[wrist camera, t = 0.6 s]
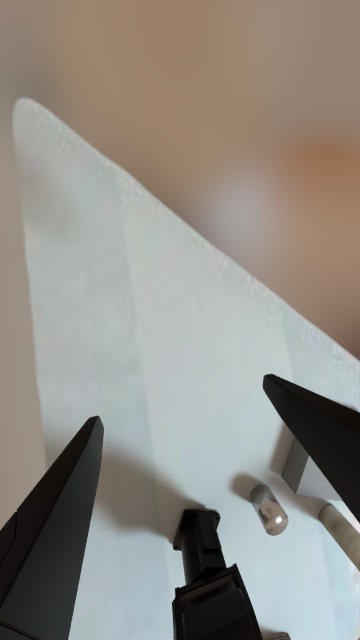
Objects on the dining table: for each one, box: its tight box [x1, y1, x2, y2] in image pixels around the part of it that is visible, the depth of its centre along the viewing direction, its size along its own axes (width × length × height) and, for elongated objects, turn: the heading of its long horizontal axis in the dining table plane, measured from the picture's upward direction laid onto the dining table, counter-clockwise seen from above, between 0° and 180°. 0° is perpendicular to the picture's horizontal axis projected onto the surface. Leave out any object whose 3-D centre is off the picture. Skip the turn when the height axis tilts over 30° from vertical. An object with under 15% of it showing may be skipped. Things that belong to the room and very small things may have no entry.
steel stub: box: [250, 485, 288, 536], centre depth 28 cm, size 4×4×4 cm
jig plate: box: [282, 437, 343, 501], centre depth 30 cm, size 14×14×3 cm
